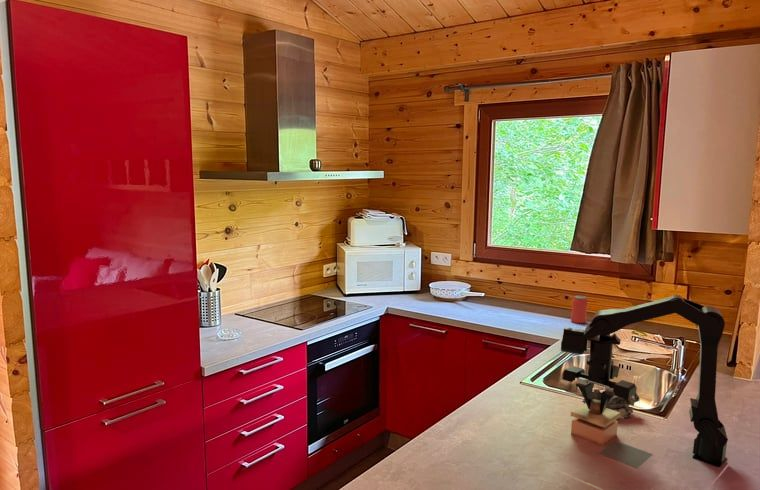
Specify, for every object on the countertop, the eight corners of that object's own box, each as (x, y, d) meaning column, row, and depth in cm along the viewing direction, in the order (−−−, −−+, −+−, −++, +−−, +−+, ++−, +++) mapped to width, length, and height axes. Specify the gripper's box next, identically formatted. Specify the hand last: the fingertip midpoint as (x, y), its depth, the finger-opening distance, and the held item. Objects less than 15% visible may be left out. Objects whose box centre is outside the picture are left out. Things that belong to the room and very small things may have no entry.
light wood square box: (616, 436, 162) (617, 420, 162) (602, 447, 156) (603, 431, 155) (585, 425, 169) (586, 410, 168) (570, 435, 162) (571, 420, 162)
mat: (652, 455, 152) (652, 454, 152) (637, 469, 145) (637, 468, 145) (614, 441, 159) (614, 440, 159) (598, 454, 152) (598, 453, 152)
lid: (619, 416, 161) (621, 402, 161) (604, 427, 155) (605, 412, 154) (586, 405, 168) (587, 391, 167) (570, 415, 161) (571, 401, 161)
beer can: (587, 324, 269) (589, 298, 267) (573, 323, 269) (575, 298, 267) (582, 320, 276) (584, 295, 274) (568, 319, 276) (570, 294, 274)
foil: (581, 391, 185) (626, 374, 178) (598, 423, 183) (645, 406, 177) (576, 403, 174) (623, 385, 168) (594, 437, 173) (643, 420, 166)
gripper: (647, 359, 158) (641, 413, 160) (581, 342, 171) (577, 392, 173) (630, 369, 150) (625, 426, 153) (563, 350, 163) (559, 403, 166)
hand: (595, 411), depth 161 cm, fingers closed on lid, 3 cm apart
